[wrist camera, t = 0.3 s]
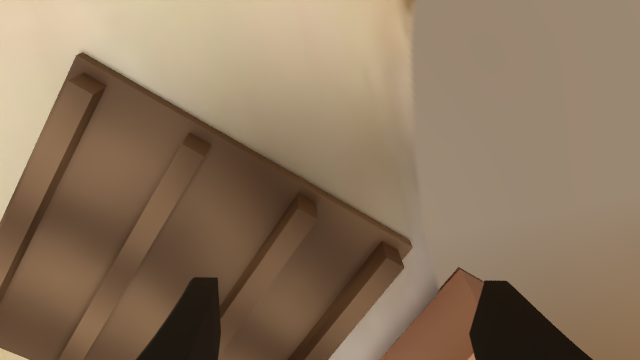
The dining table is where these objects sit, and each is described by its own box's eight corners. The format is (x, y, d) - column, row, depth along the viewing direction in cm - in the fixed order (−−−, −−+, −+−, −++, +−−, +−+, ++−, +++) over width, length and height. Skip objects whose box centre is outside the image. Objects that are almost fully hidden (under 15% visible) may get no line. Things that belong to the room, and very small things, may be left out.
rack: (248, 438, 30) (245, 471, 28) (-41, 320, 25) (-69, 349, 24) (409, 240, 25) (419, 264, 23) (82, 52, 20) (60, 62, 18)
